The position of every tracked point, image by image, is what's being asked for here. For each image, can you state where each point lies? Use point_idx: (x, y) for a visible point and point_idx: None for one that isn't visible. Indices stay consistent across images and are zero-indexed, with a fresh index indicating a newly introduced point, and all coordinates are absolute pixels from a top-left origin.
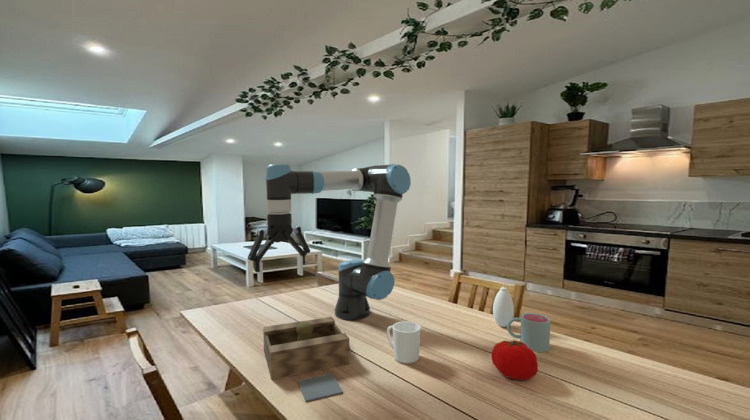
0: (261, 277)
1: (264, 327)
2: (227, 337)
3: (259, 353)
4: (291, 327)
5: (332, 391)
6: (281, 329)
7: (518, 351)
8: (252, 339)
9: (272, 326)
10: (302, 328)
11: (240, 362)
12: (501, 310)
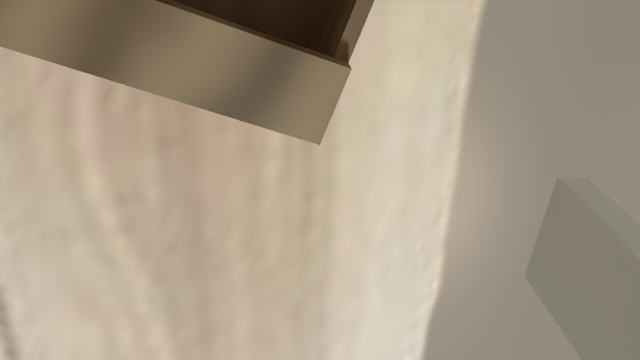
0: (617, 217)
1: (318, 133)
2: (366, 313)
3: None
4: (176, 13)
5: None
6: (247, 32)
7: None
8: (291, 233)
9: (271, 116)
10: None
11: (448, 48)
12: None
